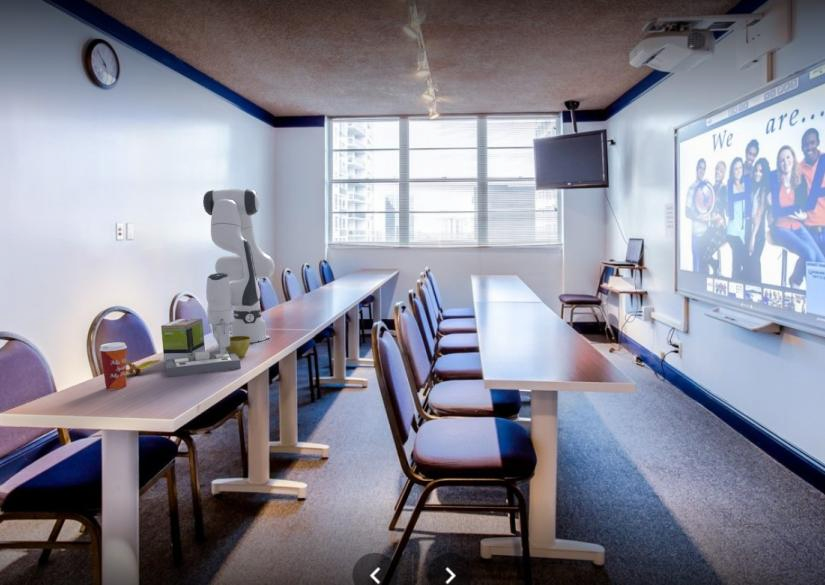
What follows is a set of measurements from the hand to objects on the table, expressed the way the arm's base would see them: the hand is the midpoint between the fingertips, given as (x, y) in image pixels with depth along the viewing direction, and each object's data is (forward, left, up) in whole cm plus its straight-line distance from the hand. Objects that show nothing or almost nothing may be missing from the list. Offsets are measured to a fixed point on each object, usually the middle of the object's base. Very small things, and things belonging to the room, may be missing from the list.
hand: (222, 354), depth 196 cm
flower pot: (-11, +7, -4) cm, 13 cm away
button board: (+3, -7, -4) cm, 8 cm away
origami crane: (0, -29, -4) cm, 30 cm away
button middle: (0, -7, -2) cm, 7 cm away
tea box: (-18, -12, -4) cm, 22 cm away
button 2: (0, 0, -3) cm, 3 cm away
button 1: (0, -14, -3) cm, 14 cm away
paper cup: (+15, -34, -4) cm, 38 cm away
